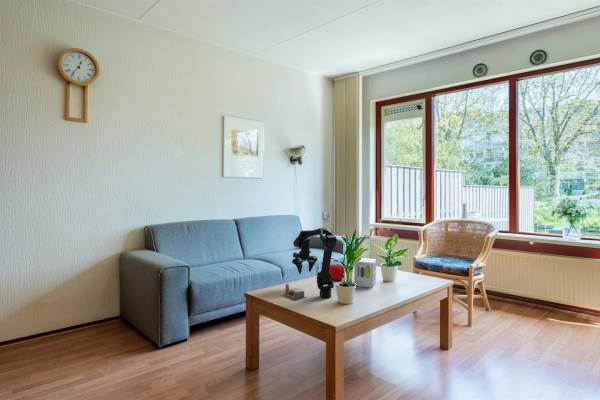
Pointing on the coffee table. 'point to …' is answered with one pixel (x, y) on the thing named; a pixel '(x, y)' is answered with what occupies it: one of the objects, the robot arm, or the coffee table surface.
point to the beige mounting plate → (297, 296)
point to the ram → (287, 291)
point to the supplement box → (365, 272)
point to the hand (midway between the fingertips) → (304, 272)
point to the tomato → (336, 272)
